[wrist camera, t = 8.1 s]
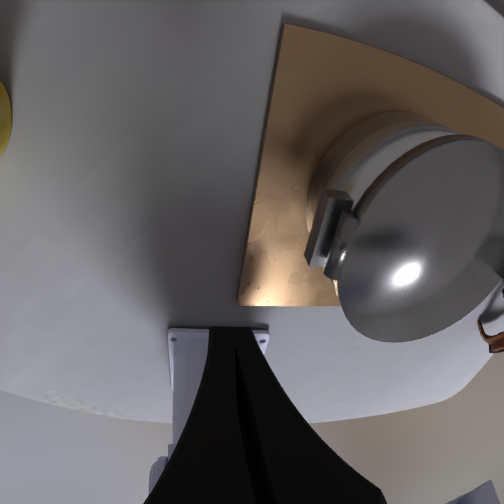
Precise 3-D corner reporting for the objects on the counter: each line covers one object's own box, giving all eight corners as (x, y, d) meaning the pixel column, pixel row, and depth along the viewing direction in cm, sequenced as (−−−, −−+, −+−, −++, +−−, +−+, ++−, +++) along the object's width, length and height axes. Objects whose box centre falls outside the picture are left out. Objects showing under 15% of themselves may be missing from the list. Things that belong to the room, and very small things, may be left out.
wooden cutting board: (445, 297, 27) (473, 338, 22) (236, 299, 23) (244, 360, 19) (520, 120, 17) (569, 146, 12) (282, 24, 13) (315, 13, 9)
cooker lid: (296, 334, 17) (301, 353, 16) (367, 96, 10) (383, 103, 9) (487, 320, 20) (495, 331, 19) (560, 181, 13) (573, 190, 12)
